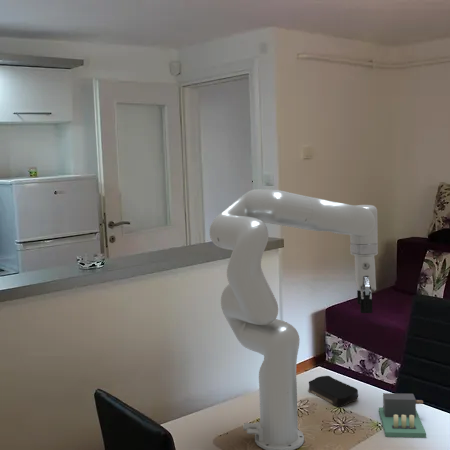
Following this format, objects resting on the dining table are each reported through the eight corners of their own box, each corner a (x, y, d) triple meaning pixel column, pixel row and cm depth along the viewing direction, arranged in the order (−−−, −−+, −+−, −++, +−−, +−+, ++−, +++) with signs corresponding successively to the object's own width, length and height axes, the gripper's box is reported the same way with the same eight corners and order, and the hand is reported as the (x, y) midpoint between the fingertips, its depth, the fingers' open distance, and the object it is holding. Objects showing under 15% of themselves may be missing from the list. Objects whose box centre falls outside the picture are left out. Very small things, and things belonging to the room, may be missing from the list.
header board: (385, 436, 153) (385, 420, 153) (378, 411, 168) (378, 396, 168) (426, 437, 152) (426, 421, 152) (415, 412, 167) (415, 397, 166)
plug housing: (385, 416, 162) (385, 399, 161) (383, 410, 166) (383, 393, 165) (424, 417, 161) (424, 399, 160) (421, 411, 165) (421, 393, 164)
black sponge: (361, 402, 175) (361, 390, 175) (339, 409, 171) (339, 397, 171) (326, 385, 189) (326, 374, 189) (304, 391, 185) (304, 379, 185)
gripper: (381, 254, 160) (382, 316, 162) (374, 243, 177) (374, 300, 179) (352, 254, 161) (353, 316, 163) (348, 244, 178) (349, 300, 180)
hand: (364, 308), depth 171 cm, fingers open, 9 cm apart
